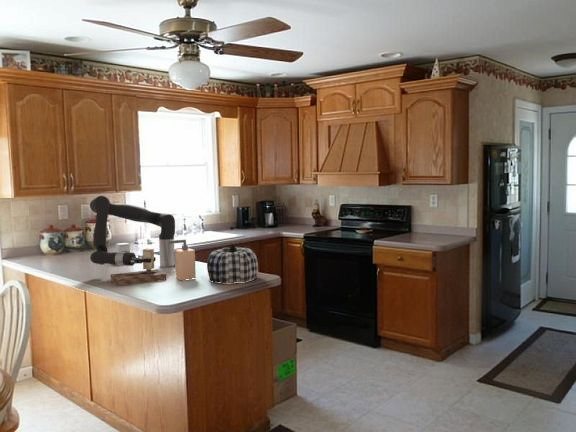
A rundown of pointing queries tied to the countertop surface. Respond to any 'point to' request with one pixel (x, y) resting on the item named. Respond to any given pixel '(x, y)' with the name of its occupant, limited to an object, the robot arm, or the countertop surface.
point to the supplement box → (123, 247)
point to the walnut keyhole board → (137, 277)
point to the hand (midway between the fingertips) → (153, 259)
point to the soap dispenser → (184, 261)
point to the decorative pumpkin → (232, 265)
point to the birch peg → (150, 255)
